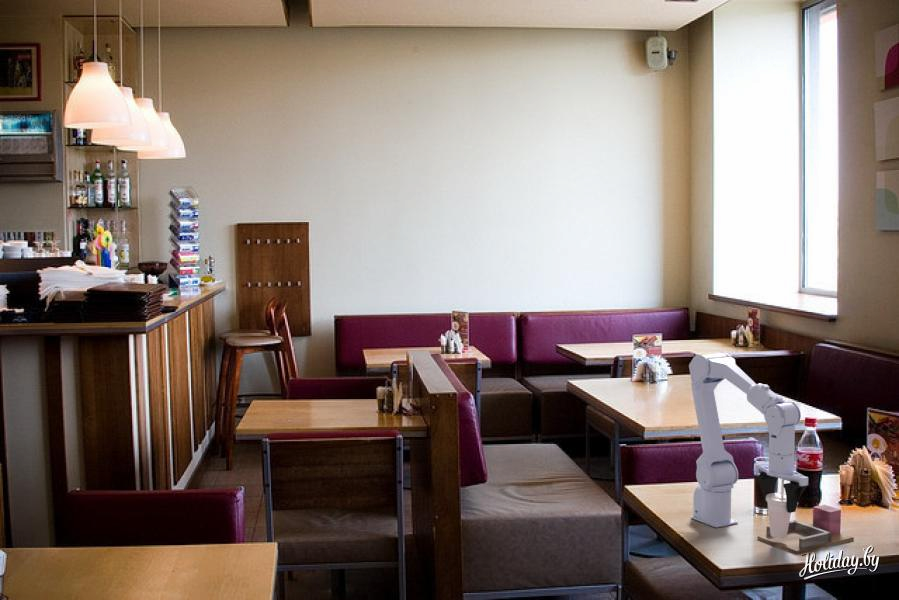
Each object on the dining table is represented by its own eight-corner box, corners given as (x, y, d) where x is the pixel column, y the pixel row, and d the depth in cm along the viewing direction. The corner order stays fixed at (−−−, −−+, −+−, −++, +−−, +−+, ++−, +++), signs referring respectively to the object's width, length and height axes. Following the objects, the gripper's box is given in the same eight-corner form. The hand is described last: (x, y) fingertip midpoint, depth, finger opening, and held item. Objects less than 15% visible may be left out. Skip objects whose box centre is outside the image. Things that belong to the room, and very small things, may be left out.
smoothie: (794, 541, 219) (796, 484, 218) (765, 539, 221) (767, 483, 219) (791, 531, 226) (792, 476, 224) (763, 529, 227) (765, 474, 225)
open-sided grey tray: (757, 539, 228) (758, 512, 227) (813, 526, 237) (814, 500, 237) (796, 554, 217) (797, 526, 217) (853, 540, 227) (854, 513, 226)
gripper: (746, 448, 226) (745, 502, 227) (793, 461, 213) (792, 518, 214) (767, 444, 229) (765, 498, 230) (815, 457, 216) (813, 514, 217)
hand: (780, 508), depth 222 cm, fingers closed on smoothie, 6 cm apart
